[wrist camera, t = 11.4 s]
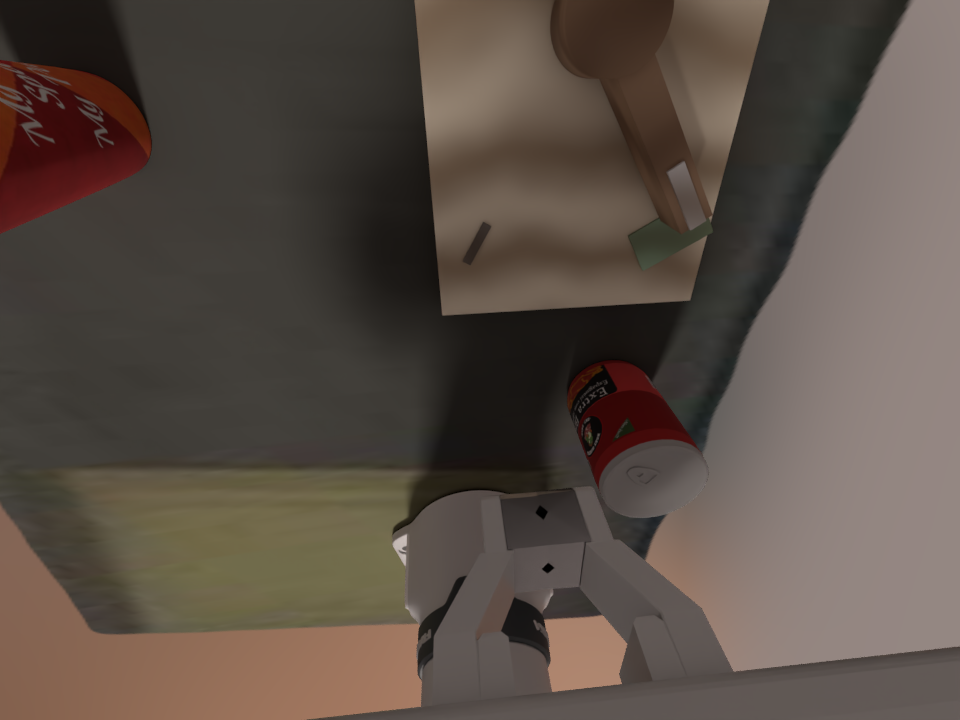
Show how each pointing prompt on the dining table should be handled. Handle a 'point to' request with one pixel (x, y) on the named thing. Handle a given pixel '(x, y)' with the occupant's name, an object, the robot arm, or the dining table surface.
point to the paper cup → (62, 139)
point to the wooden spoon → (635, 94)
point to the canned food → (634, 441)
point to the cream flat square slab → (565, 156)
